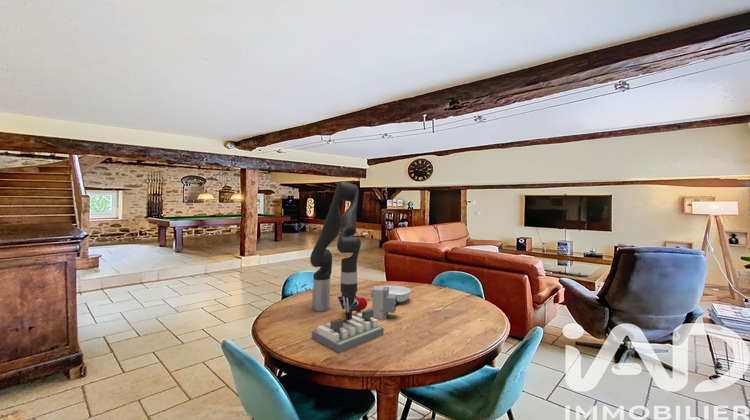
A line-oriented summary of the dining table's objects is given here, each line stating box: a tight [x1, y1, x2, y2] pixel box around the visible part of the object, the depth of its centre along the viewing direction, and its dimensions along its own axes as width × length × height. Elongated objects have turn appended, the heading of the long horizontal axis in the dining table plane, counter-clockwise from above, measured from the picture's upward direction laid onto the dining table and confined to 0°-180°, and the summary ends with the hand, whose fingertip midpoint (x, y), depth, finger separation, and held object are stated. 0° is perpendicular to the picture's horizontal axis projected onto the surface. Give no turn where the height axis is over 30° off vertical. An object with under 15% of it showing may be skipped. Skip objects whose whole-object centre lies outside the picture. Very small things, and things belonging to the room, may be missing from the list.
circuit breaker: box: [370, 285, 400, 320], centre depth 171 cm, size 8×14×15 cm, turn 78°
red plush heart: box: [354, 296, 368, 315], centre depth 171 cm, size 9×7×10 cm
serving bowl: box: [384, 285, 412, 303], centre depth 198 cm, size 21×21×7 cm
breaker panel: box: [311, 308, 385, 354], centre depth 146 cm, size 19×26×10 cm
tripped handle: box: [337, 310, 347, 324], centre depth 148 cm, size 2×5×7 cm, turn 135°
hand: (348, 319), depth 145 cm, fingers closed
